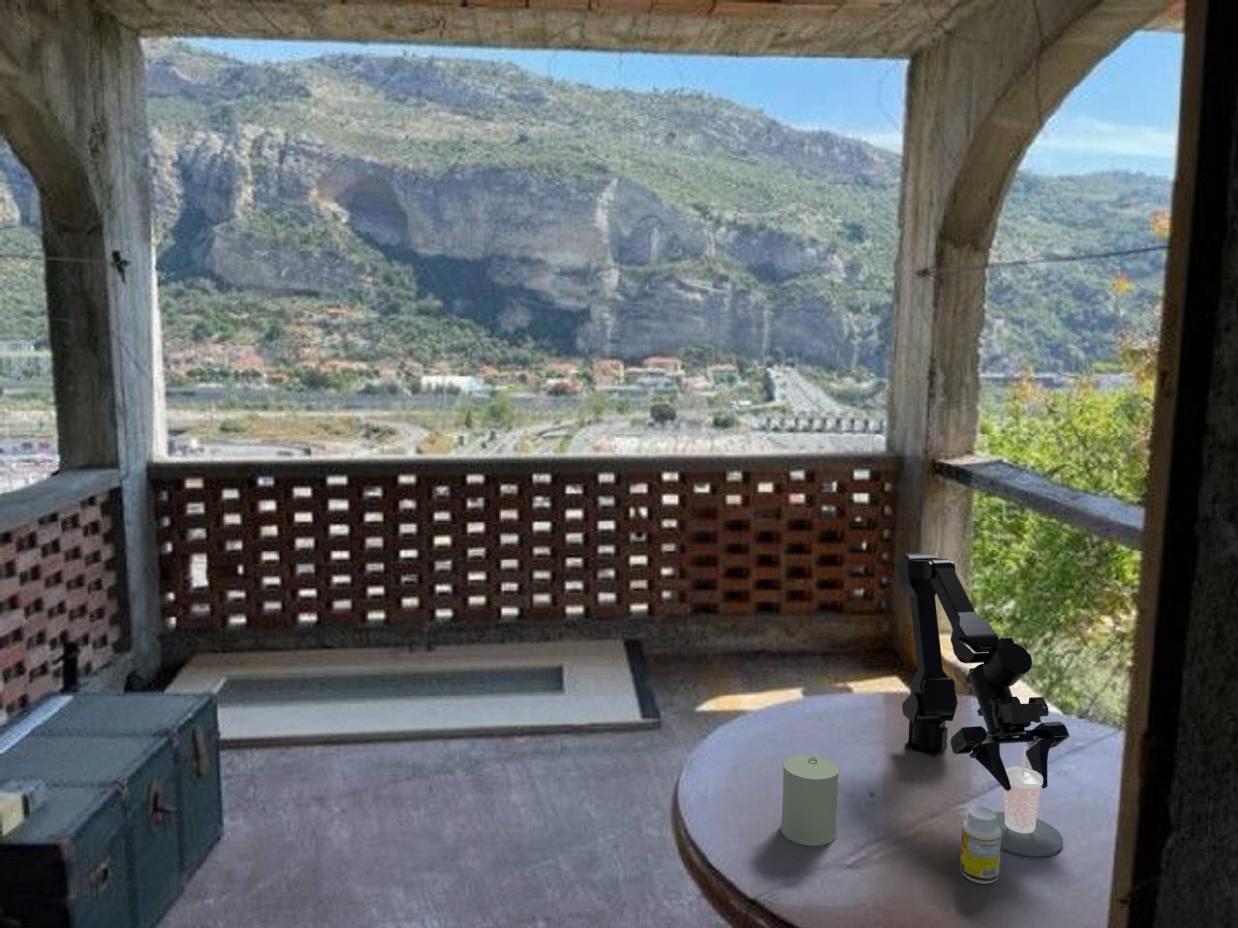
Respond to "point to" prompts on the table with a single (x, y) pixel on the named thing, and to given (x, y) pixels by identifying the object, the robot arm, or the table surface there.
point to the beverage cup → (1022, 797)
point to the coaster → (1030, 839)
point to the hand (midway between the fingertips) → (1027, 788)
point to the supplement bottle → (980, 846)
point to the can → (809, 799)
